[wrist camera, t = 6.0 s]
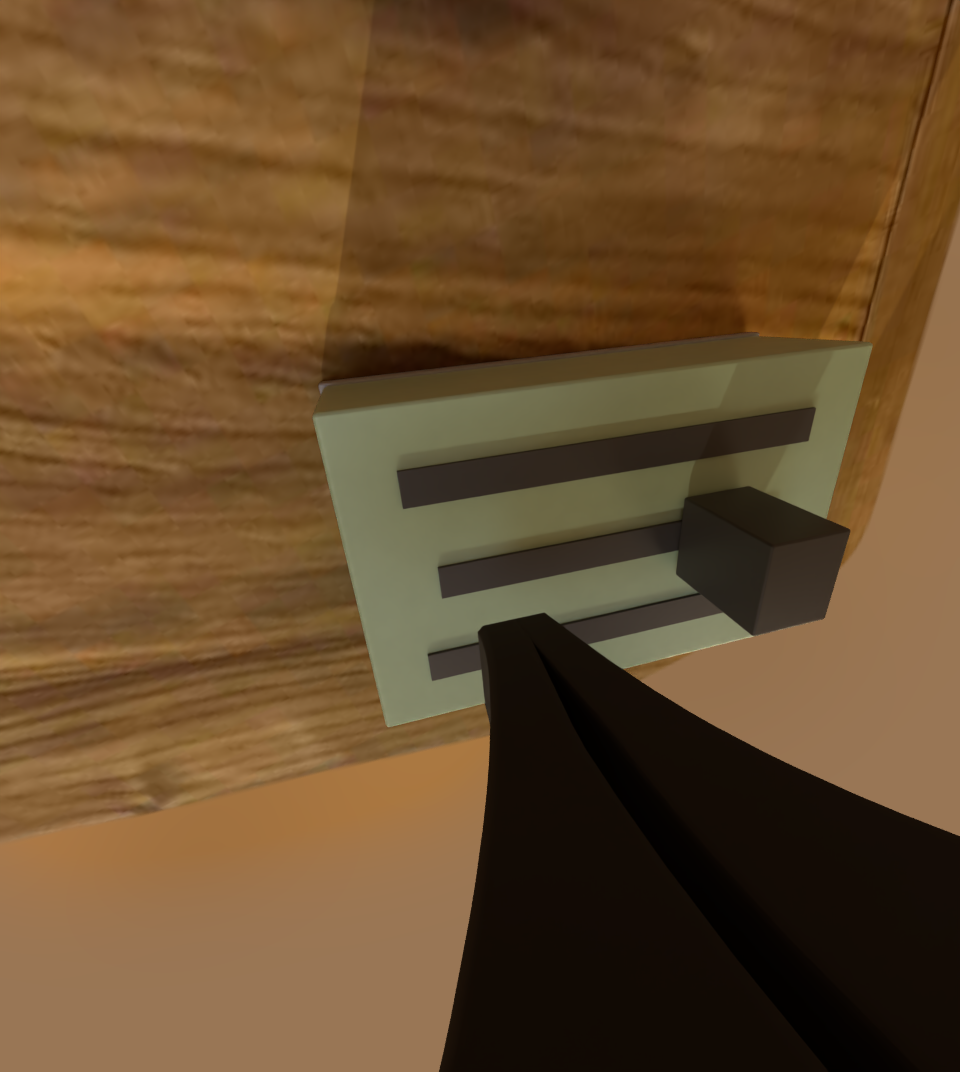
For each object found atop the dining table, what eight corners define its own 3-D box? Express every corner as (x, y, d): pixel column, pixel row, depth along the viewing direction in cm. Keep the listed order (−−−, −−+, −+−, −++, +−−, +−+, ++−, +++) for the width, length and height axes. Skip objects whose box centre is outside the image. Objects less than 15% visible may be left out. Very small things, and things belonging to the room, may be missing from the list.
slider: (735, 561, 14) (825, 619, 11) (674, 574, 13) (752, 637, 11) (749, 484, 13) (852, 529, 10) (683, 497, 12) (772, 546, 10)
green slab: (712, 566, 20) (803, 629, 16) (376, 638, 17) (383, 735, 13) (749, 331, 16) (884, 337, 12) (318, 381, 13) (304, 410, 9)
